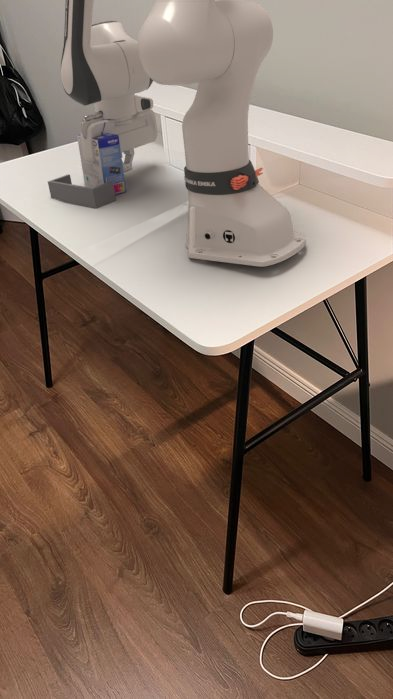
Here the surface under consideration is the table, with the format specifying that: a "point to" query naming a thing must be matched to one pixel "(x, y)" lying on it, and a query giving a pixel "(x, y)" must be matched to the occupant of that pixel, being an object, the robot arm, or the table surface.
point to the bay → (81, 192)
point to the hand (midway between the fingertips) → (125, 171)
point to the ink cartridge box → (104, 162)
